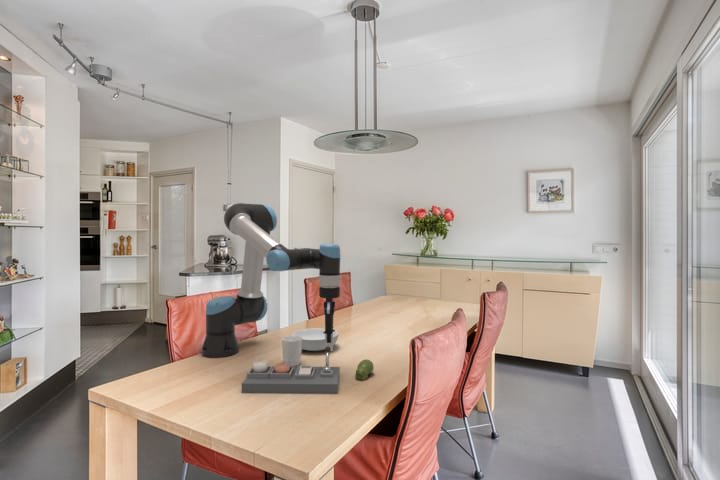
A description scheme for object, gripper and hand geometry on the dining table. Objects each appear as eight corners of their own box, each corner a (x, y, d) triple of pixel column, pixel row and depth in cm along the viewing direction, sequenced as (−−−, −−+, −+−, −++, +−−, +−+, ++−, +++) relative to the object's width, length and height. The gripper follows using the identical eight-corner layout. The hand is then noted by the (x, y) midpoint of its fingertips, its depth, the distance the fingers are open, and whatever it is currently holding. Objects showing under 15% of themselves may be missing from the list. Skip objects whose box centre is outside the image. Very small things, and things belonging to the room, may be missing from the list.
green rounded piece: (375, 358, 143) (365, 371, 134) (376, 371, 144) (366, 385, 135) (361, 356, 145) (351, 369, 136) (362, 369, 146) (351, 382, 137)
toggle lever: (323, 371, 133) (324, 346, 137) (330, 371, 133) (331, 346, 137) (323, 371, 131) (324, 345, 135) (330, 371, 131) (331, 345, 135)
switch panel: (254, 374, 141) (254, 361, 140) (339, 375, 141) (339, 362, 141) (241, 392, 125) (241, 378, 124) (337, 393, 125) (337, 379, 125)
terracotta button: (276, 370, 135) (276, 363, 135) (290, 370, 135) (290, 363, 135) (273, 376, 130) (273, 368, 130) (288, 376, 130) (288, 368, 130)
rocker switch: (300, 368, 135) (300, 365, 135) (311, 368, 135) (311, 365, 135) (298, 376, 130) (298, 373, 130) (310, 376, 130) (310, 374, 130)
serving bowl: (341, 342, 182) (341, 328, 182) (334, 356, 161) (334, 340, 161) (298, 340, 184) (298, 326, 184) (285, 354, 163) (285, 338, 163)
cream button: (255, 367, 135) (255, 360, 135) (269, 367, 135) (269, 360, 135) (251, 372, 130) (251, 365, 130) (265, 373, 130) (265, 365, 130)
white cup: (297, 367, 148) (298, 341, 148) (278, 365, 150) (278, 340, 149) (304, 360, 156) (304, 336, 156) (286, 359, 157) (286, 335, 157)
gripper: (339, 289, 134) (338, 356, 134) (340, 284, 147) (340, 345, 147) (317, 288, 134) (316, 356, 134) (321, 283, 147) (320, 345, 147)
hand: (329, 350), depth 141 cm, fingers closed
